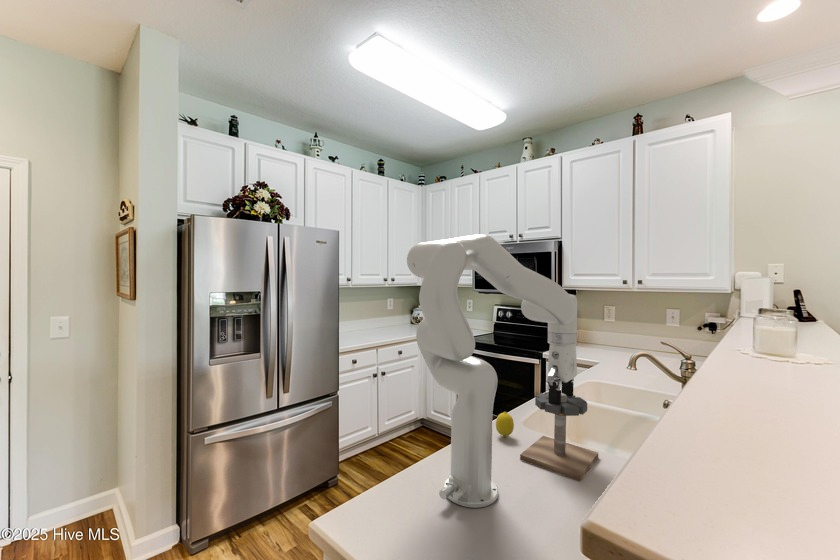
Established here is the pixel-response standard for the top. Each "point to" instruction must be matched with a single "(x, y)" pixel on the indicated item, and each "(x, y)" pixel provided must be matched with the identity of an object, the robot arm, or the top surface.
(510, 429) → the lemon
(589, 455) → the pipe stand
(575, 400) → the grey flat ring
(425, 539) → the top surface
